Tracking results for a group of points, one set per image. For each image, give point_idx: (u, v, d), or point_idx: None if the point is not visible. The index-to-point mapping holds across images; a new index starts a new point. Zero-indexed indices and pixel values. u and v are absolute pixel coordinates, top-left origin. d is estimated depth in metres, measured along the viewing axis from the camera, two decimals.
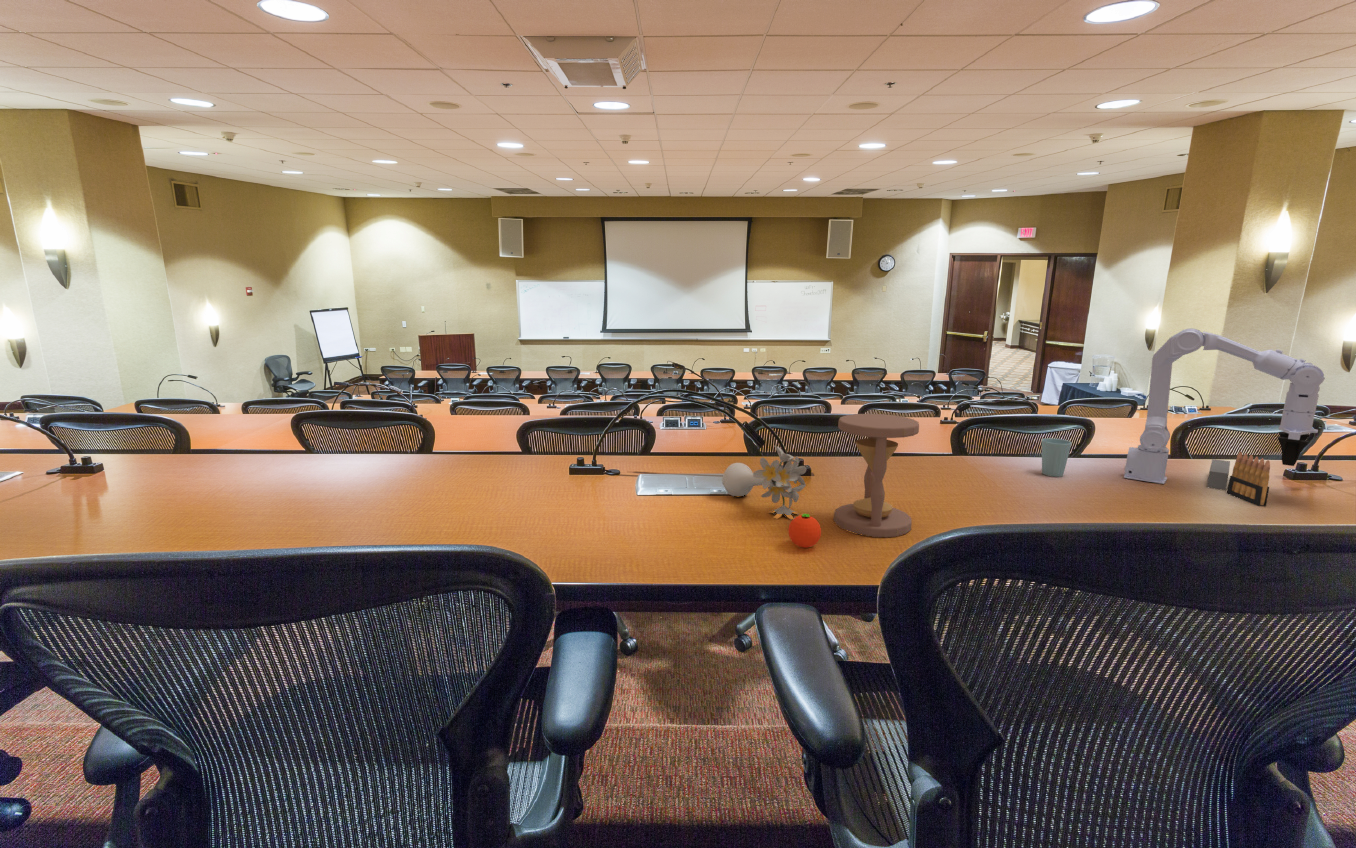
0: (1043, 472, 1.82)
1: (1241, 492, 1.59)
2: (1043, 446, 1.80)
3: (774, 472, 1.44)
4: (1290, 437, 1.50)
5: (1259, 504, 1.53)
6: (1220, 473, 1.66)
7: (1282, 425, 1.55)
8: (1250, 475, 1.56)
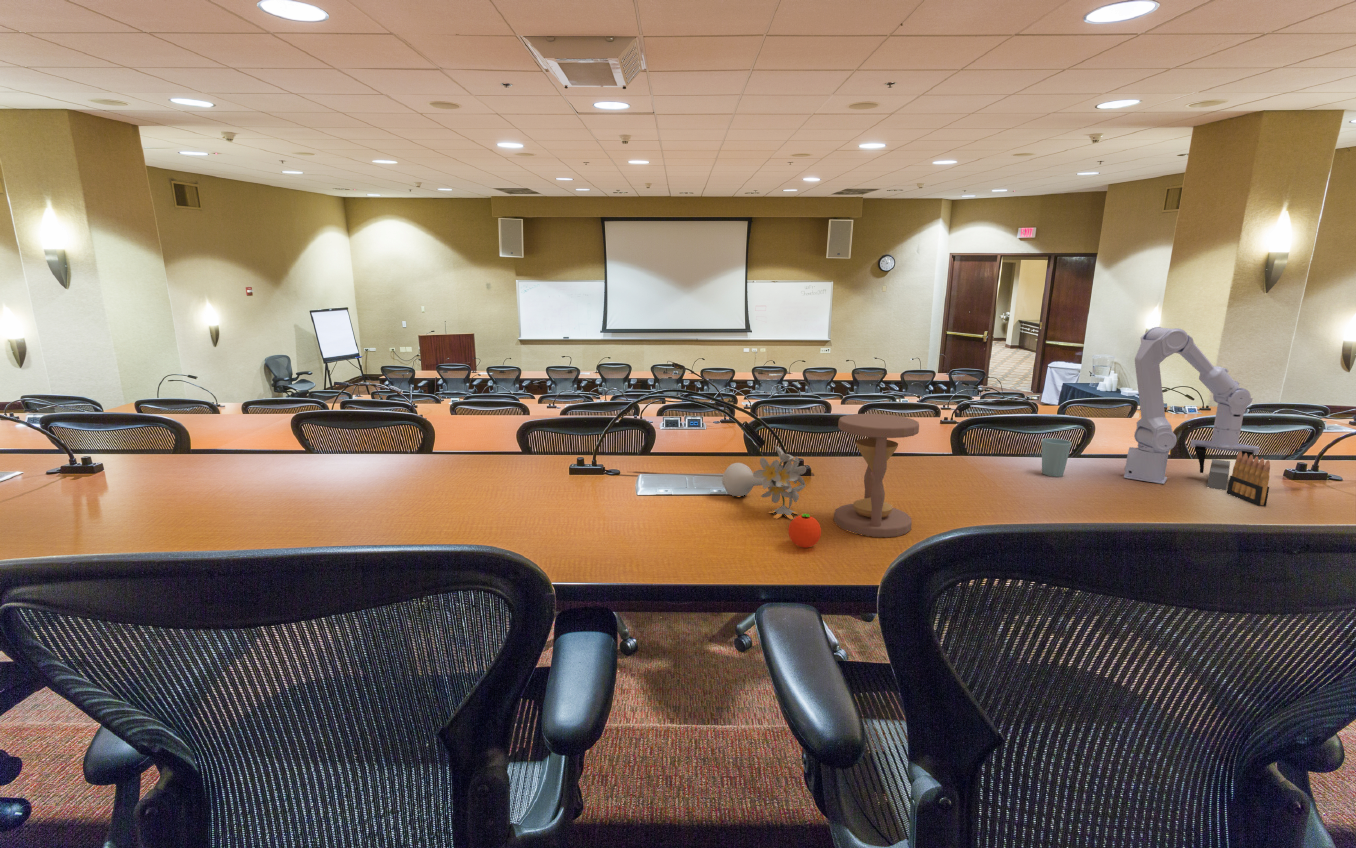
0: (1043, 472, 1.82)
1: (1241, 492, 1.59)
2: (1043, 446, 1.80)
3: (774, 472, 1.44)
4: (1190, 444, 1.77)
5: (1259, 504, 1.53)
6: (1220, 473, 1.66)
7: None
8: (1250, 475, 1.56)
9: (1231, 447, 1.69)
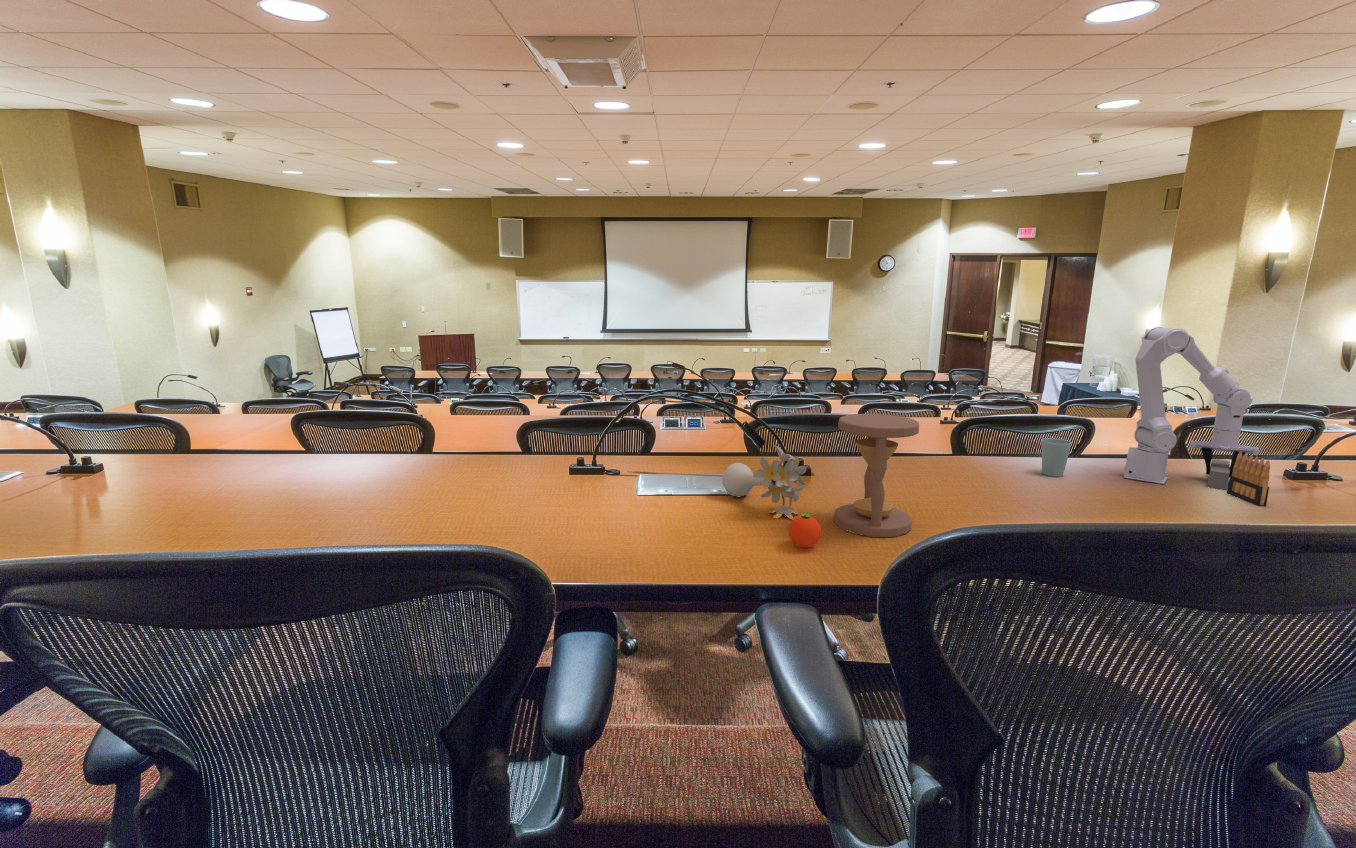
0: (1043, 472, 1.82)
1: (1241, 492, 1.59)
2: (1043, 446, 1.80)
3: (774, 472, 1.44)
4: (1190, 445, 1.77)
5: (1259, 504, 1.53)
6: (1221, 473, 1.66)
7: None
8: (1250, 475, 1.56)
9: (1231, 448, 1.69)
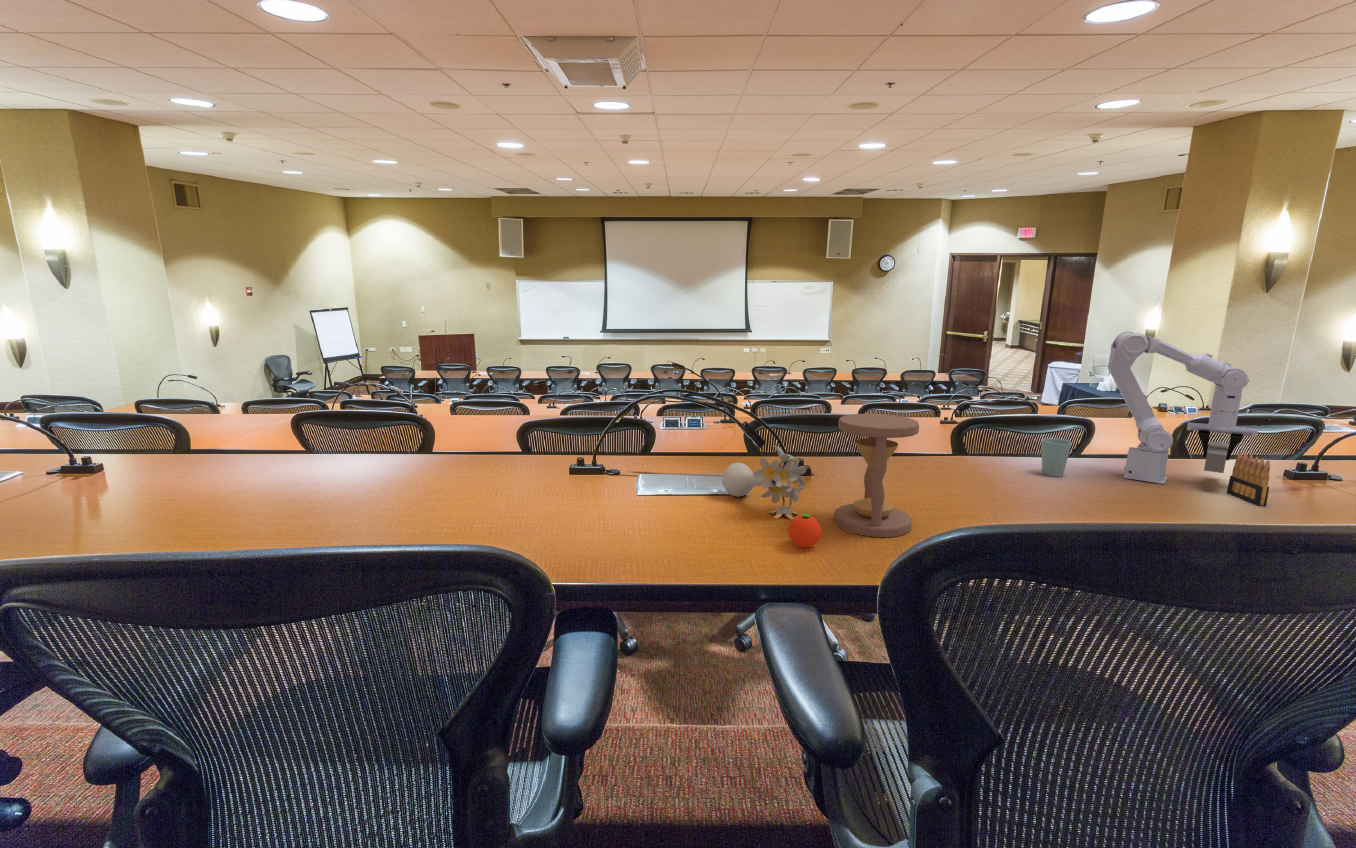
0: (1043, 472, 1.82)
1: (1241, 492, 1.59)
2: (1043, 446, 1.80)
3: (774, 472, 1.44)
4: None
5: (1259, 504, 1.53)
6: (1218, 455, 1.62)
7: None
8: (1250, 475, 1.56)
9: (1228, 430, 1.64)
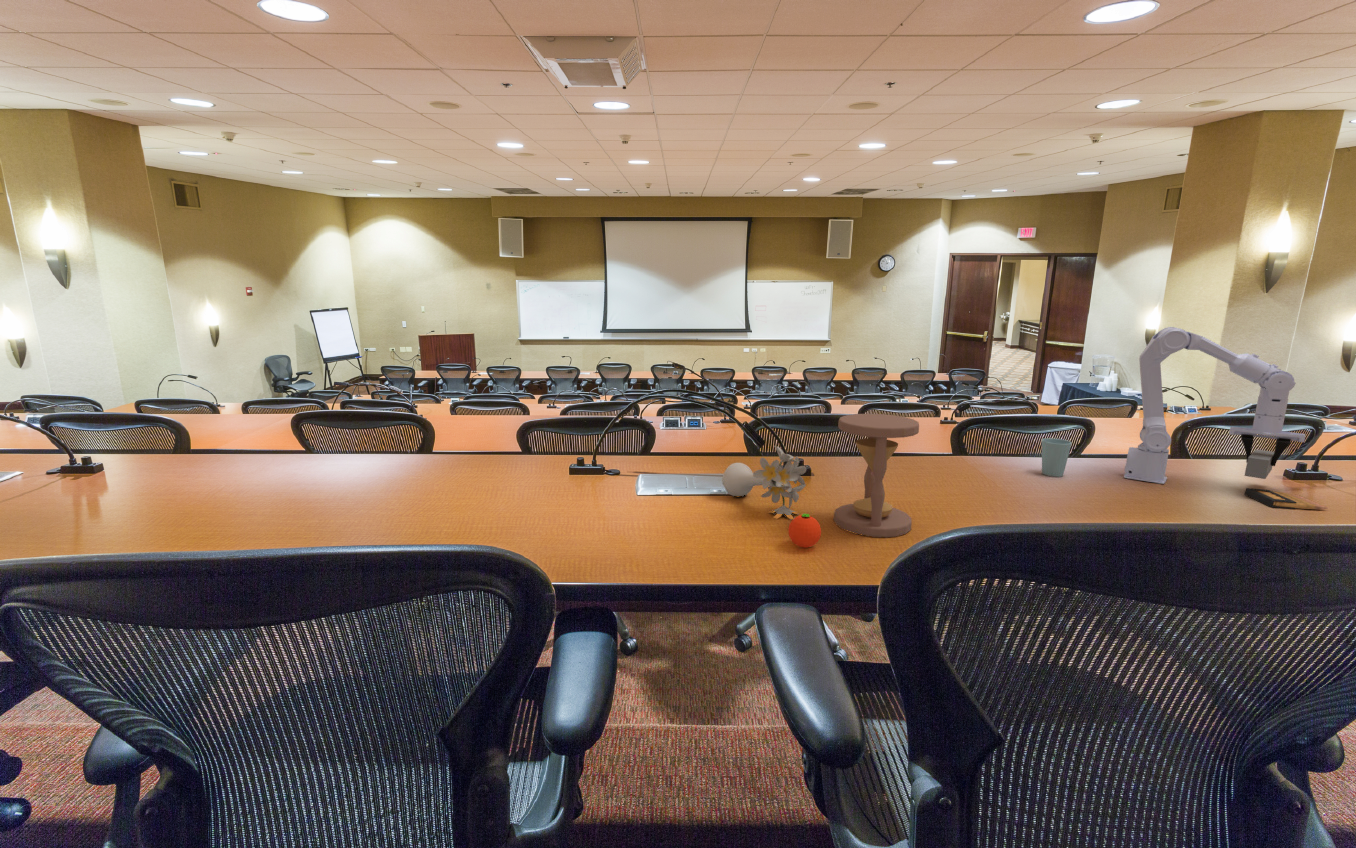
0: (1043, 472, 1.82)
1: (1264, 494, 1.57)
2: (1043, 446, 1.80)
3: (774, 472, 1.44)
4: None
5: (1274, 501, 1.51)
6: (1260, 460, 1.56)
7: None
8: (1293, 498, 1.54)
9: (1274, 434, 1.58)
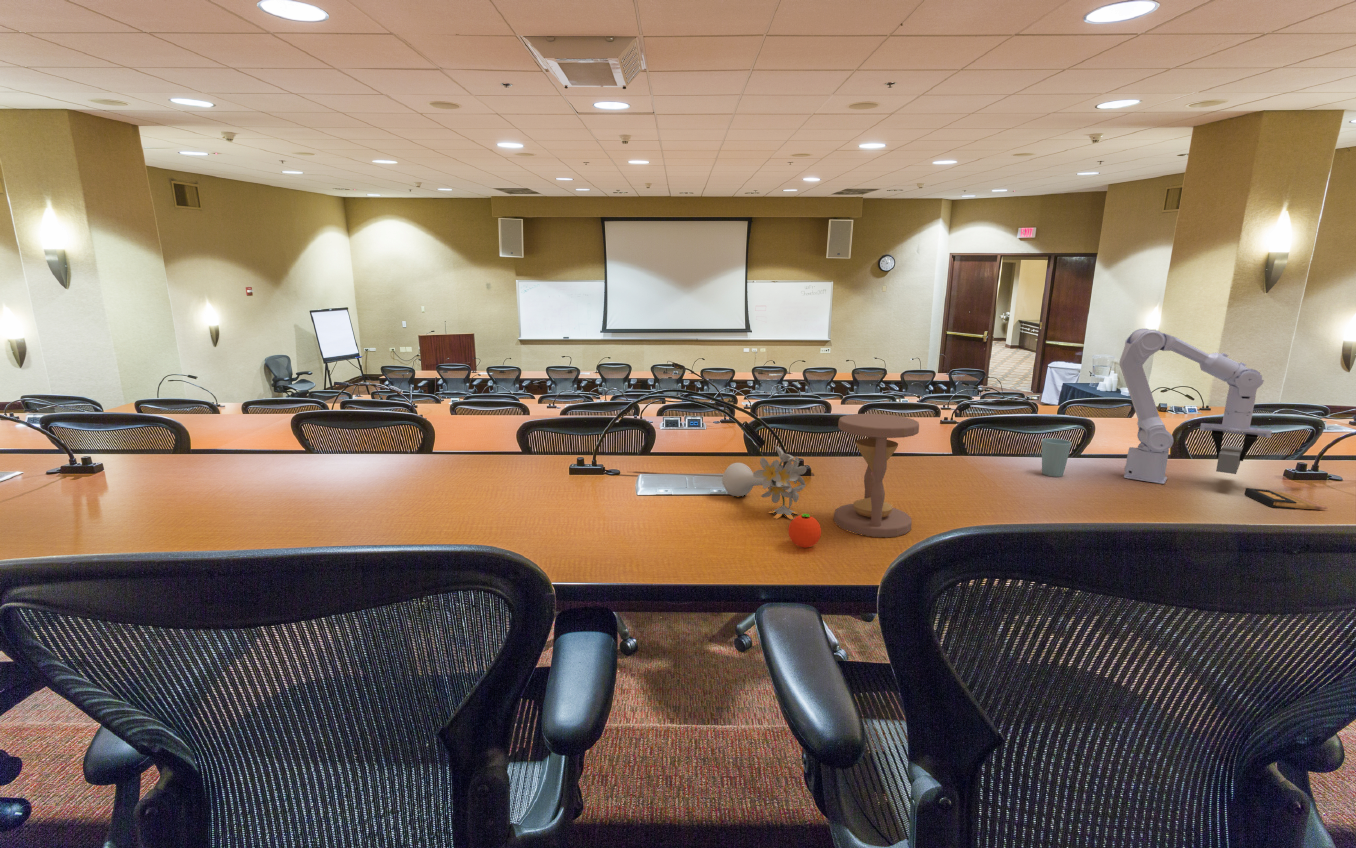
0: (1043, 472, 1.82)
1: (1264, 494, 1.57)
2: (1043, 446, 1.80)
3: (774, 472, 1.44)
4: None
5: (1274, 501, 1.51)
6: (1230, 455, 1.61)
7: None
8: (1293, 498, 1.54)
9: (1242, 430, 1.63)
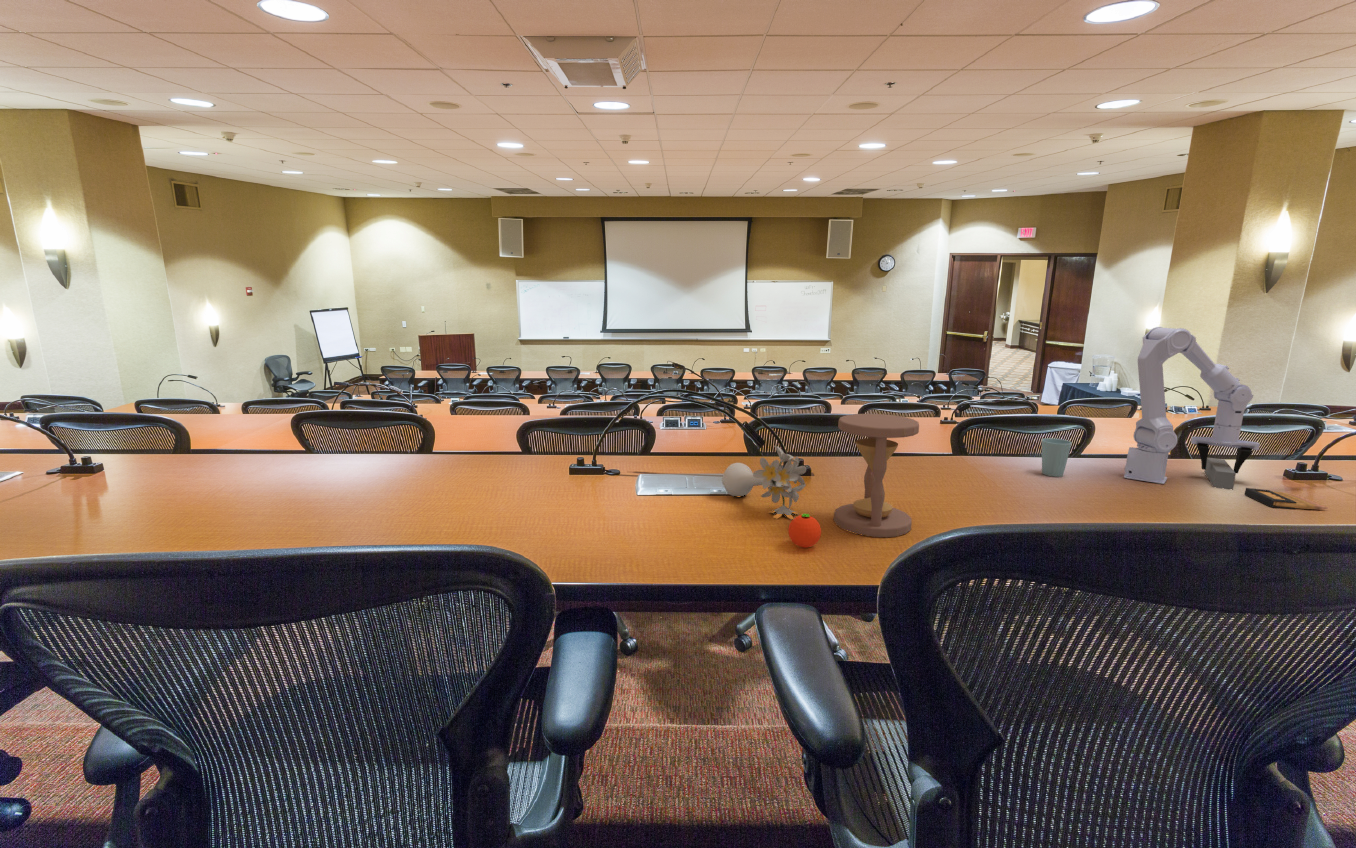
0: (1043, 472, 1.82)
1: (1264, 494, 1.57)
2: (1043, 446, 1.80)
3: (774, 472, 1.44)
4: (1191, 441, 1.78)
5: (1274, 501, 1.51)
6: (1227, 473, 1.67)
7: None
8: (1293, 498, 1.54)
9: (1233, 443, 1.70)
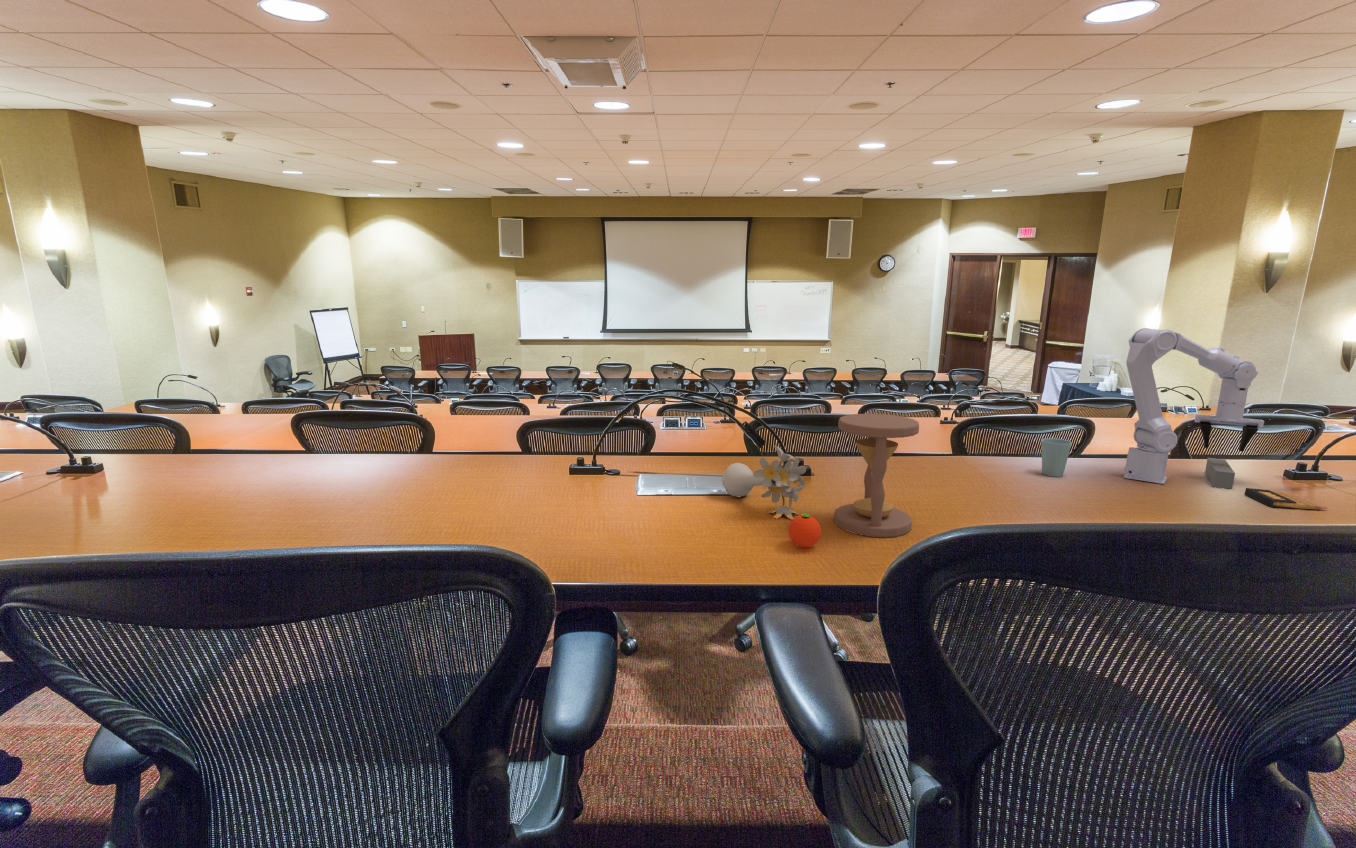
0: (1043, 472, 1.82)
1: (1264, 494, 1.57)
2: (1043, 446, 1.80)
3: (774, 472, 1.44)
4: None
5: (1274, 501, 1.51)
6: (1226, 473, 1.67)
7: None
8: (1293, 498, 1.54)
9: (1237, 421, 1.69)
